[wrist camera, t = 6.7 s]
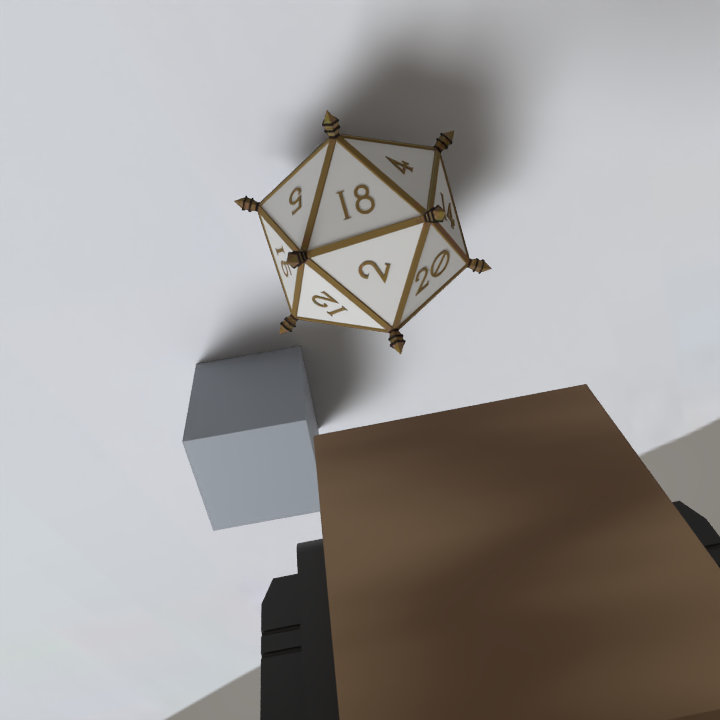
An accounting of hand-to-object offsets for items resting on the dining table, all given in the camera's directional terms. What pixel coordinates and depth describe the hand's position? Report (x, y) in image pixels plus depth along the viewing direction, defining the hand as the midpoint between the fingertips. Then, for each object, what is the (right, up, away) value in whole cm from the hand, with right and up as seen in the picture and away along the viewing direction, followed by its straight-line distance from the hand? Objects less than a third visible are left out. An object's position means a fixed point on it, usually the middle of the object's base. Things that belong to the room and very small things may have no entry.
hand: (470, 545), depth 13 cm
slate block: (-7, +2, +21) cm, 22 cm away
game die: (-2, +10, +17) cm, 20 cm away
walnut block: (0, 0, +1) cm, 1 cm away
